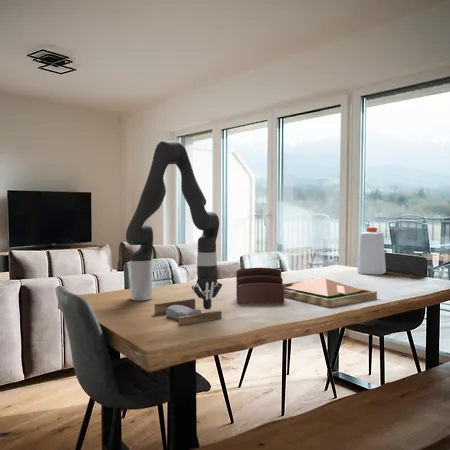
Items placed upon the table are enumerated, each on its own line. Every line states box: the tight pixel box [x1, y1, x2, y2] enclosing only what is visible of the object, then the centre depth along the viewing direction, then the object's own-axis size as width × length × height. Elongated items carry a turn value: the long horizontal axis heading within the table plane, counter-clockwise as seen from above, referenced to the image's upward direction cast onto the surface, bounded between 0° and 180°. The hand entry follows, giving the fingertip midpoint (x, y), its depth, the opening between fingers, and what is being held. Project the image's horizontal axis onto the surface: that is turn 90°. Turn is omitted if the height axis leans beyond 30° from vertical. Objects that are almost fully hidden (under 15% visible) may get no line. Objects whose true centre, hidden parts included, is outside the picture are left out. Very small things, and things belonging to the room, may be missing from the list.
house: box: [286, 277, 362, 299], centre depth 204 cm, size 23×33×8 cm
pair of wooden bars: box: [154, 297, 222, 326], centre depth 164 cm, size 20×17×4 cm
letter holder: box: [235, 267, 285, 305], centre depth 191 cm, size 10×20×14 cm, turn 91°
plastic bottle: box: [356, 226, 387, 276], centre depth 271 cm, size 15×15×28 cm
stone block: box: [166, 305, 202, 321], centre depth 163 cm, size 12×5×10 cm
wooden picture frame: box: [283, 280, 378, 308], centre depth 203 cm, size 40×30×3 cm
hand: (207, 309), depth 169 cm, fingers closed
